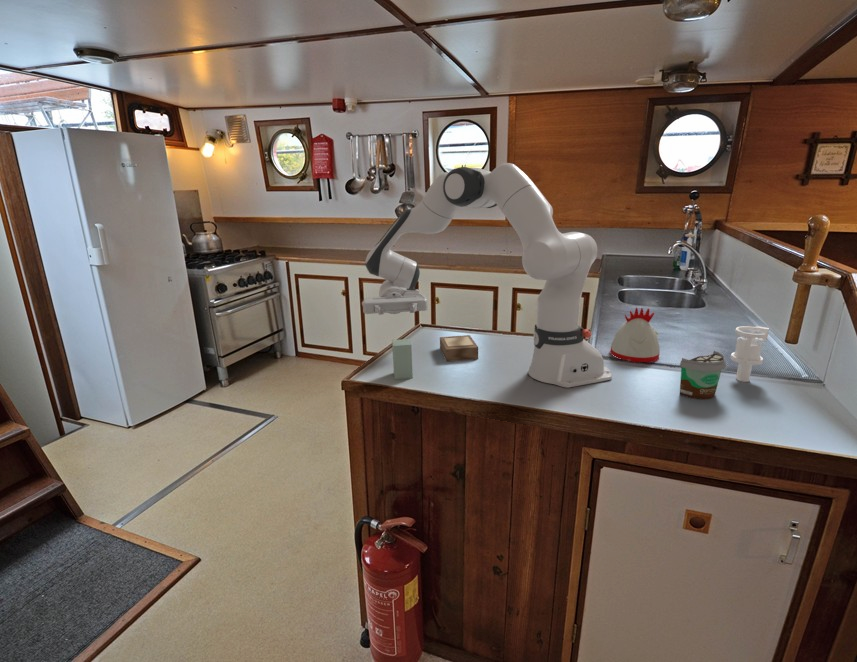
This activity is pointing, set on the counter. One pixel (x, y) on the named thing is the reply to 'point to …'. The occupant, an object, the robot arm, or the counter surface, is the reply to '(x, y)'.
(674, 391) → the counter surface
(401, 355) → the pillar block
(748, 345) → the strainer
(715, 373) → the food container
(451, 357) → the build plinth
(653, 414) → the counter surface
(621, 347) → the kitchen timer
